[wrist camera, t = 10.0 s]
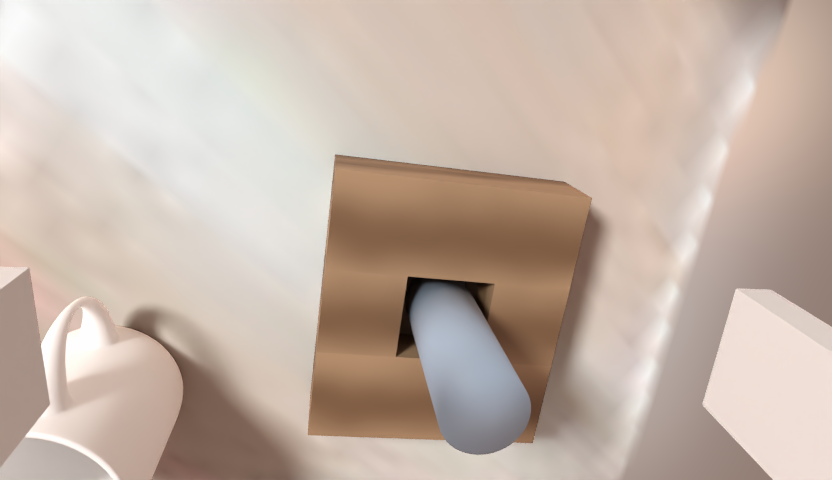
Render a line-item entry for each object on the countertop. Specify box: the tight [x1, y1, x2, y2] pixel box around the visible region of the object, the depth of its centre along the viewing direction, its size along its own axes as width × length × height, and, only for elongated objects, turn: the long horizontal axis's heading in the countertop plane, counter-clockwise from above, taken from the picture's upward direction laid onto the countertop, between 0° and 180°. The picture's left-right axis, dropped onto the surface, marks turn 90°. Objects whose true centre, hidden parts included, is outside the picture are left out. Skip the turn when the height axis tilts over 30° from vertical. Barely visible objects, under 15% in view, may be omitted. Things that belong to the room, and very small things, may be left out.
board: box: [308, 155, 592, 443], centre depth 35 cm, size 16×14×4 cm
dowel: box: [405, 277, 531, 455], centre depth 30 cm, size 4×4×12 cm
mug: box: [0, 296, 183, 480], centre depth 30 cm, size 9×12×11 cm
